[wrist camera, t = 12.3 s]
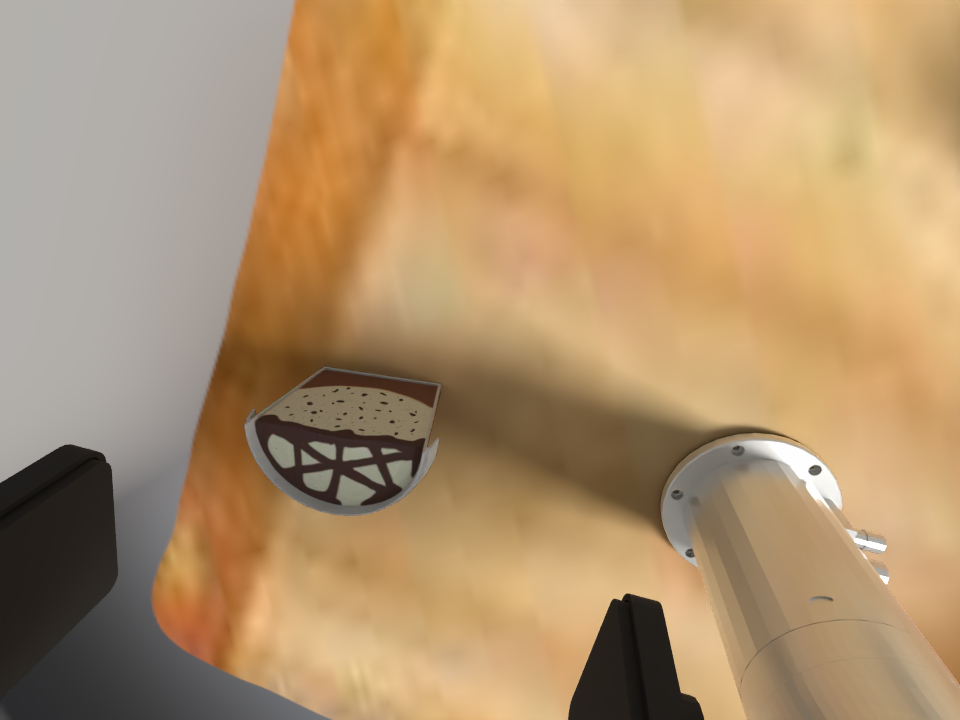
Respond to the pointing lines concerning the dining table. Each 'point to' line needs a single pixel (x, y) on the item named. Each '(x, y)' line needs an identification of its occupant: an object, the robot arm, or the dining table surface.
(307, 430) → the food container
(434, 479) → the dining table surface
